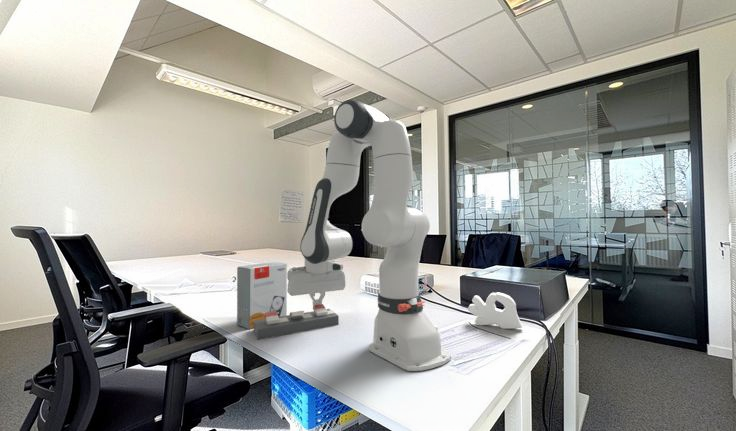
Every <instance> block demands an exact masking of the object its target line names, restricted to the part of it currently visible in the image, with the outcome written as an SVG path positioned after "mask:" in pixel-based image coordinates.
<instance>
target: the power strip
mask: <svg viewBox="0 0 736 431" xmlns="http://www.w3.org/2000/svg"><path fill="white" fill-rule="evenodd" d="M326 310H327V311H328V313H327V315H323V316H317V315H316V314H315V312H314V310H313V311H307V312H304V315H299V316H290V314H288V315H287V316H281V317H279V323H275V324H269V325H267V322H266V319H262V320H255V321H254V327H253V331H254V334H255V337H256V339H257V341H258V340H259V341H260V340H263V339H264V340H265V339H268V338H274V337H278V336H279V337H280V336H286V335H291V334H294V333H295V334H296V333H301V332H306V331H312V330H317V329H323V328H328V327H333V326H338V325H340V324H339V322H340V320H339V317H340V316H339V315H338V313H336V312H335V311H334V310H332V309H331V308H326Z"/></svg>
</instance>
